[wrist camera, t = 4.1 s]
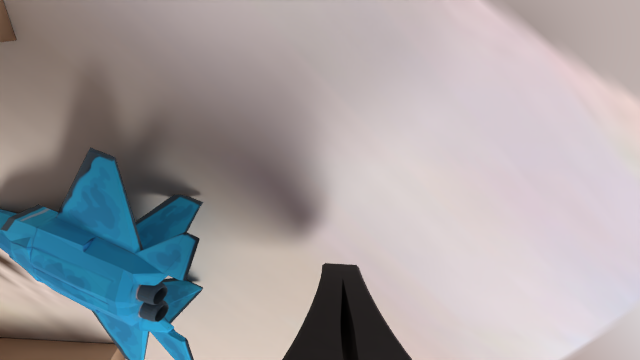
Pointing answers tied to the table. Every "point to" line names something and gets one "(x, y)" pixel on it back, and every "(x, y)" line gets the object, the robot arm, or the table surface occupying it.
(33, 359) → the brown wooden u shape
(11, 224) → the toy airplane
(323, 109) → the table surface
